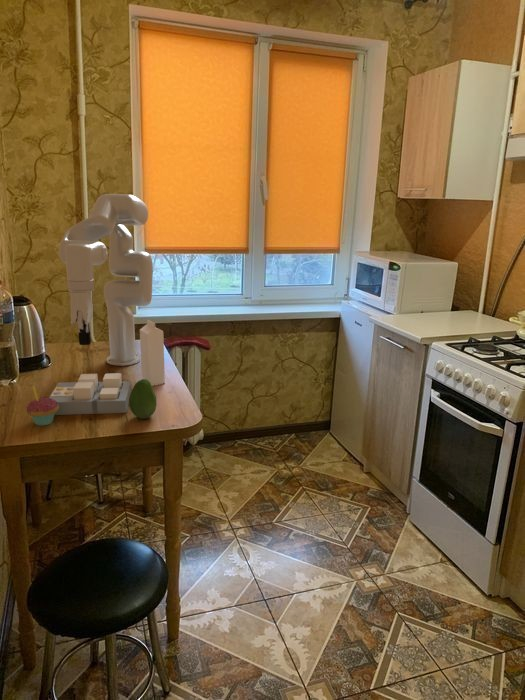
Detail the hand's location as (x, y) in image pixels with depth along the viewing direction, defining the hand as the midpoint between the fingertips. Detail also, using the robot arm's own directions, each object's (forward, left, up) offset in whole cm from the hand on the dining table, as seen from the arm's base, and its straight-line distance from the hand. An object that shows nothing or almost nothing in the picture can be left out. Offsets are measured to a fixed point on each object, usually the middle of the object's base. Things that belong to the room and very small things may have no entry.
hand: (85, 344), depth 165 cm
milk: (-14, +19, -19) cm, 30 cm away
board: (+3, +1, -18) cm, 19 cm away
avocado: (+15, +18, -19) cm, 30 cm away
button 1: (0, 0, -16) cm, 16 cm away
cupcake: (+16, -10, -19) cm, 27 cm away
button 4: (+7, +8, -18) cm, 21 cm away
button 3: (0, +8, -16) cm, 17 cm away
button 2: (+7, 0, -16) cm, 17 cm away
